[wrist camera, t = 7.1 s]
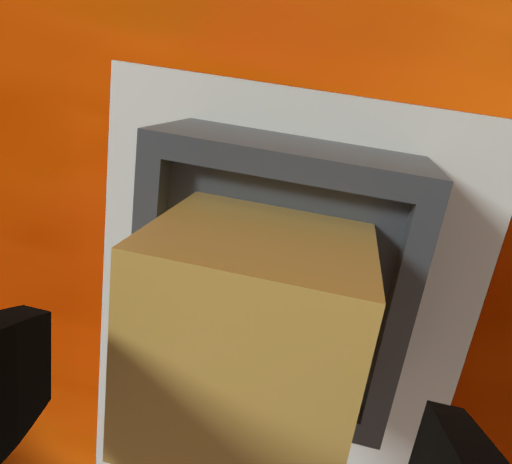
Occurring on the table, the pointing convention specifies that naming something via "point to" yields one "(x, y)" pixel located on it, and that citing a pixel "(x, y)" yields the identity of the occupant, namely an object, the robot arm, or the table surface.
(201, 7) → the table surface
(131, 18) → the table surface
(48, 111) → the table surface
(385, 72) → the table surface
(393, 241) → the charcoal base block
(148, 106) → the build board
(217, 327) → the ochre block
